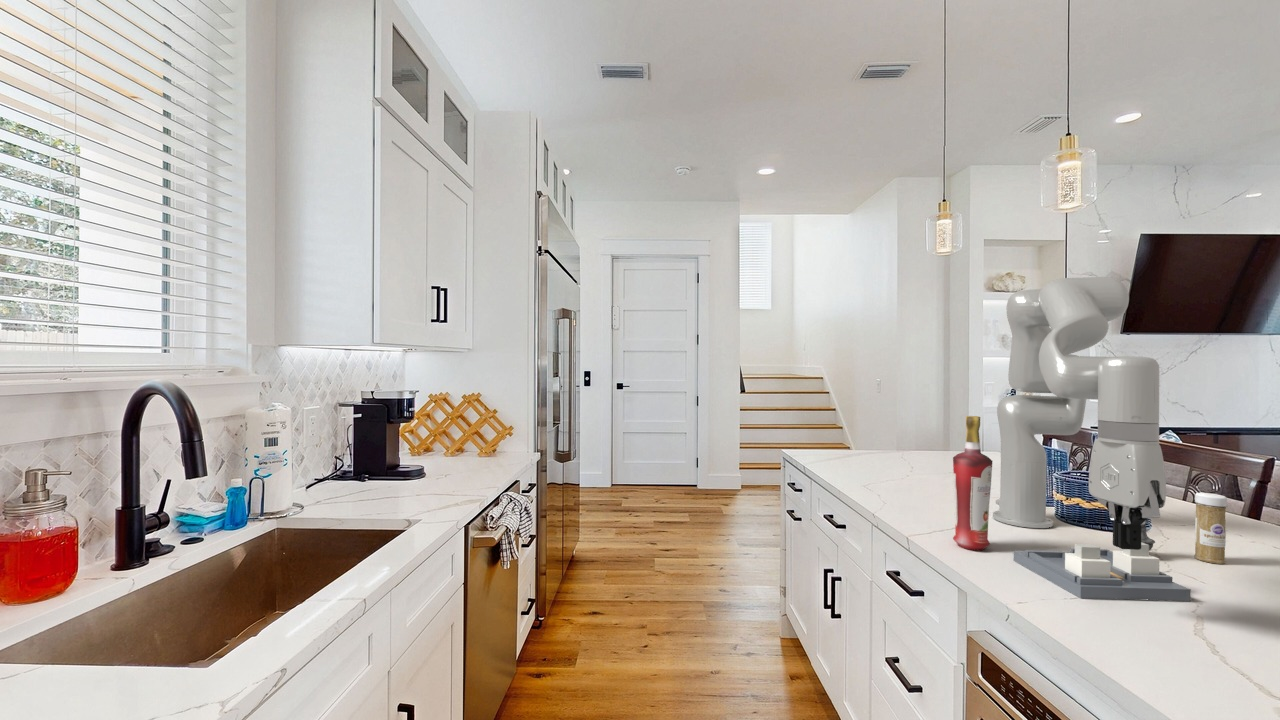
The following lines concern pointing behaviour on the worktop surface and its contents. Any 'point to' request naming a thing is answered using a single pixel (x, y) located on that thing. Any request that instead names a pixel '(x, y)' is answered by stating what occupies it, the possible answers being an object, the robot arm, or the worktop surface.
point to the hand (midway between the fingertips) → (1126, 547)
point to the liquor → (972, 491)
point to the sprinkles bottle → (1210, 528)
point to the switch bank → (1101, 579)
